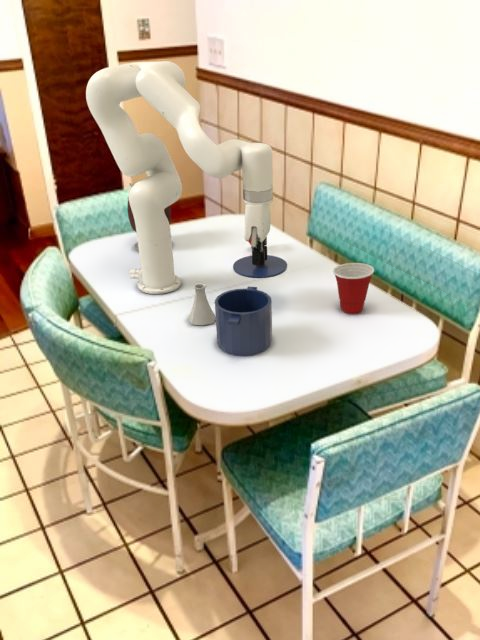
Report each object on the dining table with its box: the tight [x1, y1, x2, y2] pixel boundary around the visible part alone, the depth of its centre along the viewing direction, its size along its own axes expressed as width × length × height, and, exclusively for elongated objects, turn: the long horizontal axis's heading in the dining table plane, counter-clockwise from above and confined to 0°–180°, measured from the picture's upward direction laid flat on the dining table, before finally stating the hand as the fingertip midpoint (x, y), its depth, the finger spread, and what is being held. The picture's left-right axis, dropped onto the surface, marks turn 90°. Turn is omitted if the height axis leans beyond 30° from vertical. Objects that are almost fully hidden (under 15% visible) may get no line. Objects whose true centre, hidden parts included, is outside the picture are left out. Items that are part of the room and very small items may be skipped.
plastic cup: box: [332, 262, 375, 315], centre depth 170 cm, size 11×11×12 cm
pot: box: [214, 285, 273, 357], centre depth 156 cm, size 14×19×12 cm
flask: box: [188, 282, 216, 326], centre depth 167 cm, size 7×7×10 cm
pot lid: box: [232, 248, 288, 279], centre depth 170 cm, size 15×15×6 cm
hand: (259, 261), depth 170 cm, fingers closed on pot lid, 2 cm apart
